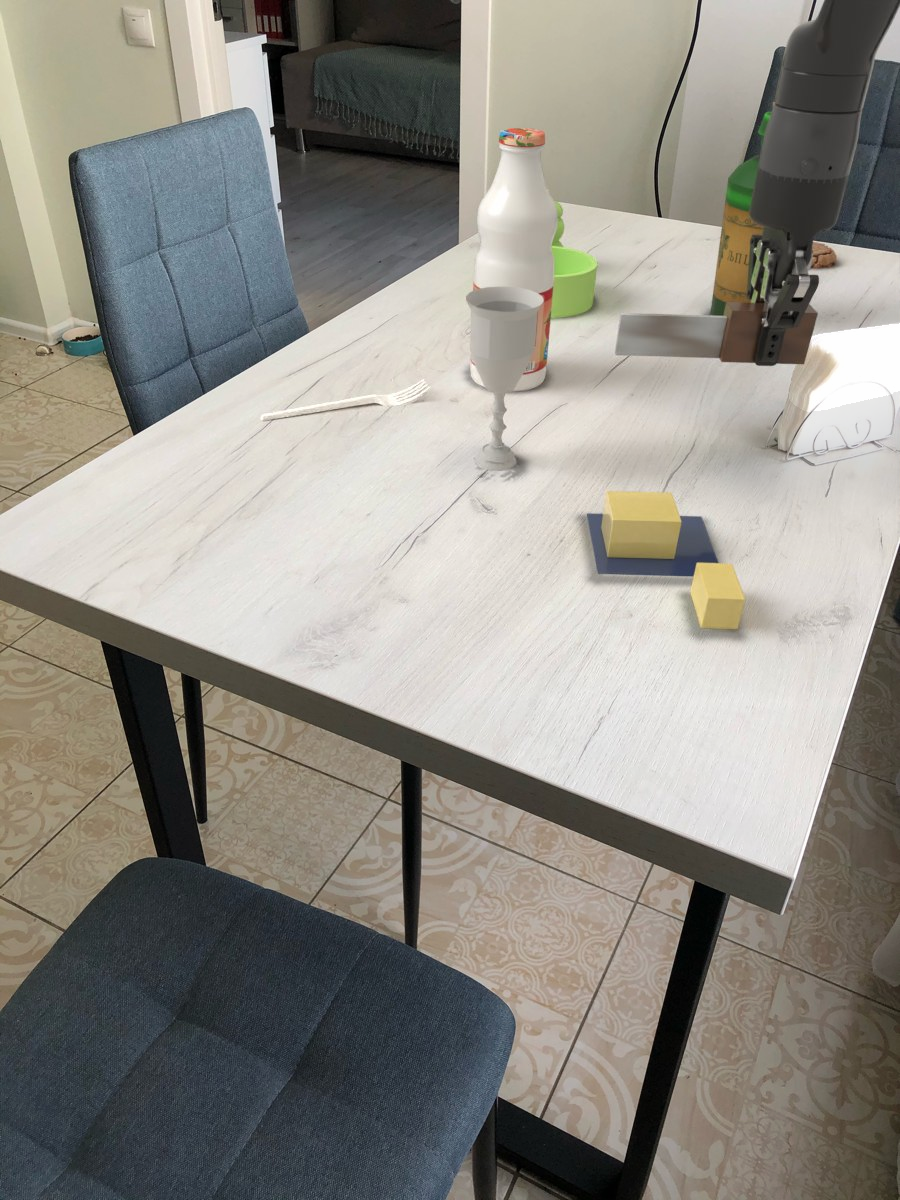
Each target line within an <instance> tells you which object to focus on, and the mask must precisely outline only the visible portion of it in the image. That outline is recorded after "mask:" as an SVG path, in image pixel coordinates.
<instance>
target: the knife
mask: <svg viewBox="0 0 900 1200" xmlns="http://www.w3.org/2000/svg"><path fill="white" fill-rule="evenodd" d="M763 307H764V303H744V302H726V306H725V310H724V315H723V316H711V315H709V314H708V315H707V314H705V315H703V314H673V313H671V314H669V313H643V312H642V313H636V312H635V313H634V312H620V315H619V321H618V327H617V328H618V329H617V335H616V341H615V349H614V355H615V356H628V357H629V356H630V357H659V358H661V357H662V358H663V357H665V358H666V357H667V358H696V359H697V358H699V359H700V358H701V359H719V360H720V362H721V363H739V364H742V363H743V364H755V363H754V361H753V357H754V353H755V348H756V344H757V339H758V335H759V331H760V326H761V318H762V313H763ZM773 307H774V305H773ZM783 313H784V312H783ZM783 313H782V314H783ZM818 315H819V313H818V312H817V310H816V309H815V308H814V307H813V306H812V305H811V303H809V305H808V307H807V309H806V311H805V313H804V315H803V317H802V319H801V321H800V323H799V325H798V327H797V328H786V330H785V334H784V339H783V343H782V347H781V351H780V355H779V359H778V362H777V364H776V365H805V363H806V359H807V355H808V351H809V349H810V348H809V347H810V344H811V340H812V337H813V333H814V329H815V327H816V322H817V319H818Z"/></svg>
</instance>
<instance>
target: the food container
mask: <svg viewBox="0 0 900 1200" xmlns="http://www.w3.org/2000/svg"><path fill="white" fill-rule="evenodd" d="M547 190H548V192H549V193H550V189H548V188H547ZM552 199H553V201H554V203H555V205H556V208H557V212H558V224H557V229H556V233H555V235H554V238H553V241H552V246H551V249H552V253H553V256H554V263H555V272H554V286H553V297H552V308H551V319H558V318H559V319H560V318H569V317H573V316H574V317H575V316H578V315H582V314H584V313H586V312H588V311H589V310H591V308H592V307H593V305H594V297H595V290H596V289H595V288H596V281H597V280H596V279H597V272H598V271H597V270H598V261H597V259H596V258H595V257H594V256H592V255H591V254H589V253H586V252H584V251H581V250H578V249H575V248H571V247H565V246H564V245H563V243H562V242H561V241H560V240H561V238H562V237H563V235H564V233H565V222H564V219H563V218H561V217H562V216H563V214H564V208H563V207H562V205H561V203H559V202H558V201H557V200H555V199H554V198H552Z"/></svg>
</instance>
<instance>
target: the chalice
mask: <svg viewBox="0 0 900 1200" xmlns="http://www.w3.org/2000/svg"><path fill="white" fill-rule="evenodd" d="M465 301H466V304H467V305H468V307H469V309H470V336H469V350H470V355H471V354H472V357H473V360H474V364H475V367H476V369H477V371H478V373H479V375H480V378H481V380H482V382H483V384H484V386H485V387H484V388H485V389H486V390H487V391H489V392H491V393H493V397H494V400H493V403H492V404H493V405H492V406H491V407H490V412H491V413H492V417H493V418H492V421H491V422H490V424H489V425H488V428H489V429H490V430H491V435H492V437H491V441H489V443H486V444H484V445H483V446H482V447H481V448H480V449H479V450H478V451H477V453H478V454H477V455H476V457H475V458H474V462H475V464H476V465H477V466H478V467H480V468H481V469H484V470H487V471H492V472H493V471H494V472H501V471H507V470H510V469H512V468H513V467H515V466H516V465H517V458H516V457H515V452H514V451H513V450H512V449H511V447H509V445H507V444H505V442H504V441H503V437H502V436H503V433H504V431H505V430H506V429H507V425H506V424H505V423H504V415H505V413H506V412H507V410H508V409H507V407H506V406H505V405H506V404H505V396H506V394H508V393H510V392H513V391H512V390H513V389H514V388H515V386H516V385H517V383H518V381H519V380H520V378H521V376H522V375H523V373H524V371H525V370H526V368H527V366H528V363H529V361H530V359H531V357H532V354H533V352H534V345H535V332H536V319H537V311H538V310H539V308H540V306H541V305H542V303H543V301H544V300H543V297H542V296H541V295H539V294H538V293H536V292H534V291H531V290H527V289H523V288H517V287H486V288H482V289H477V290H474V291H473V290H472V291H470V292H468V294H467V295H466V296H465Z"/></svg>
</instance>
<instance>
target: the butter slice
mask: <svg viewBox="0 0 900 1200" xmlns="http://www.w3.org/2000/svg"><path fill="white" fill-rule="evenodd" d="M689 593H690V597H691V600H692V603H693V606H694V609H695V612H696V613H695V614H696V616H697V620H698V623H699V627H700V628H701V629H715V630H717V629H718V630H738V629H739V625H740V622H741V618H742V614H743V610H744V606H745V603H746V597H745V594H744V592H743V589H742V586H741V584H740V581H739V578H738V574H737V572H736V569H735V568H734V565H733V563H723V562H721V563H720V562H718V563H697V564H696V568H695V573H694V577H692V582H691V587H690V591H689Z"/></svg>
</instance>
